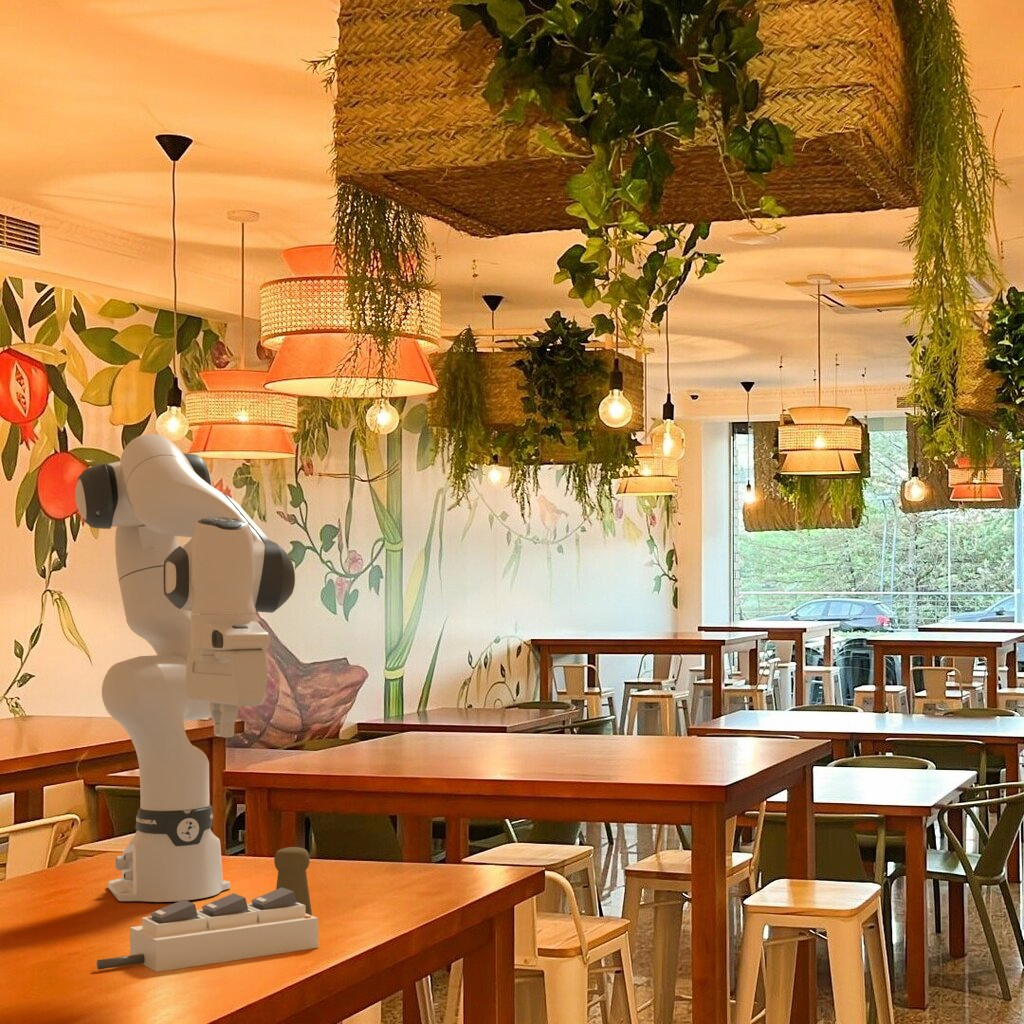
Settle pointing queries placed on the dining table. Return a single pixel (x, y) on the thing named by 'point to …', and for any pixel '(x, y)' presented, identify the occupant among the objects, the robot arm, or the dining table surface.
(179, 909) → the rocker
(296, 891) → the cork
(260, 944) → the switch strip
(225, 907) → the rocker
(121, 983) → the dining table surface
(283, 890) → the rocker
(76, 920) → the dining table surface
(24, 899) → the dining table surface
